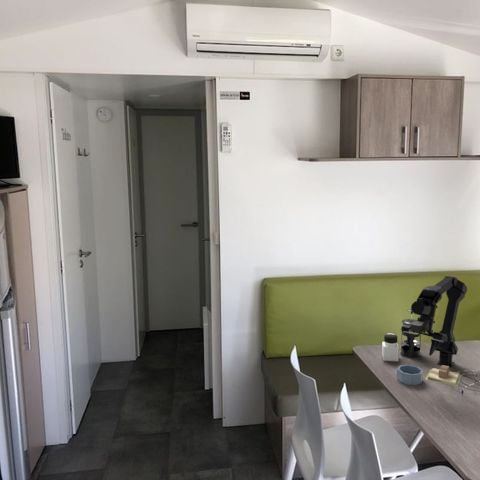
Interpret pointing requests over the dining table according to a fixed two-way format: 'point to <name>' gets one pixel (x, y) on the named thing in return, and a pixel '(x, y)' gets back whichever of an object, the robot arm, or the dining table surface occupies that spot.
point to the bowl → (410, 374)
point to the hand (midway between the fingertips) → (420, 352)
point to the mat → (443, 382)
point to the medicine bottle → (390, 348)
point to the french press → (405, 348)
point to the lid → (443, 375)
